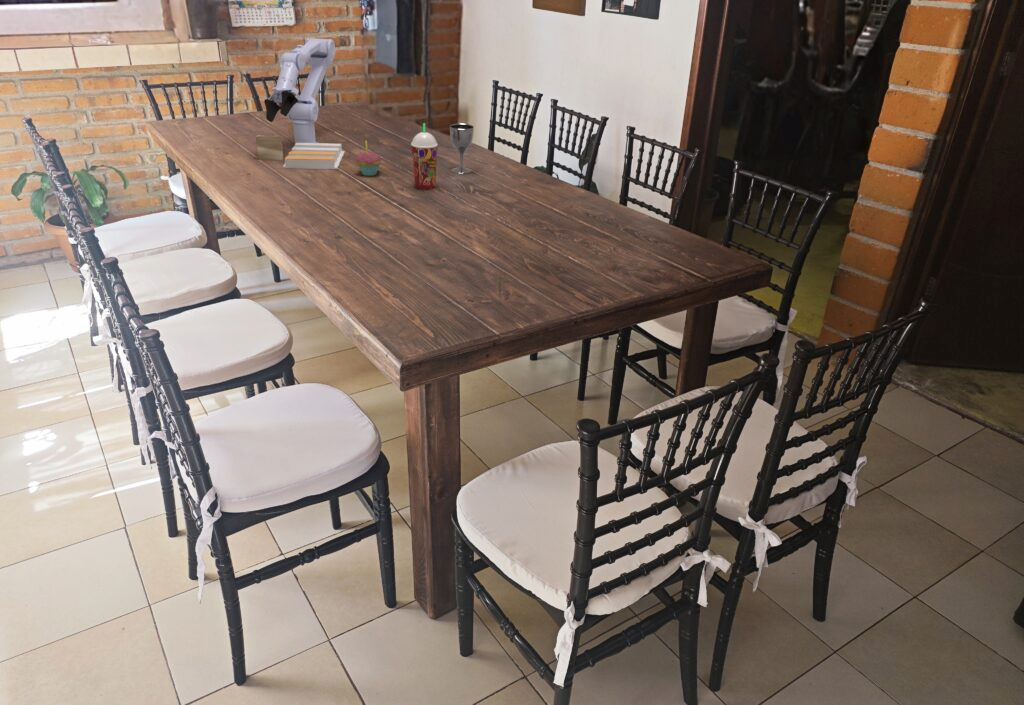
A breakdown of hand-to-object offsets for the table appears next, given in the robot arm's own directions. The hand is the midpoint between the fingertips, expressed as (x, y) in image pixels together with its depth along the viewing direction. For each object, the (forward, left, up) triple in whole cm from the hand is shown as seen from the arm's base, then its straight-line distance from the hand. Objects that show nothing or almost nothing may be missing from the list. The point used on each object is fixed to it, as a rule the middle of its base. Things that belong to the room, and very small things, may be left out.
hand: (276, 117), depth 251 cm
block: (-3, -4, -15) cm, 16 cm away
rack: (-3, +11, -15) cm, 19 cm away
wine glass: (+6, +62, -15) cm, 64 cm away
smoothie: (+25, +50, -15) cm, 58 cm away
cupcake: (+12, +31, -15) cm, 36 cm away
